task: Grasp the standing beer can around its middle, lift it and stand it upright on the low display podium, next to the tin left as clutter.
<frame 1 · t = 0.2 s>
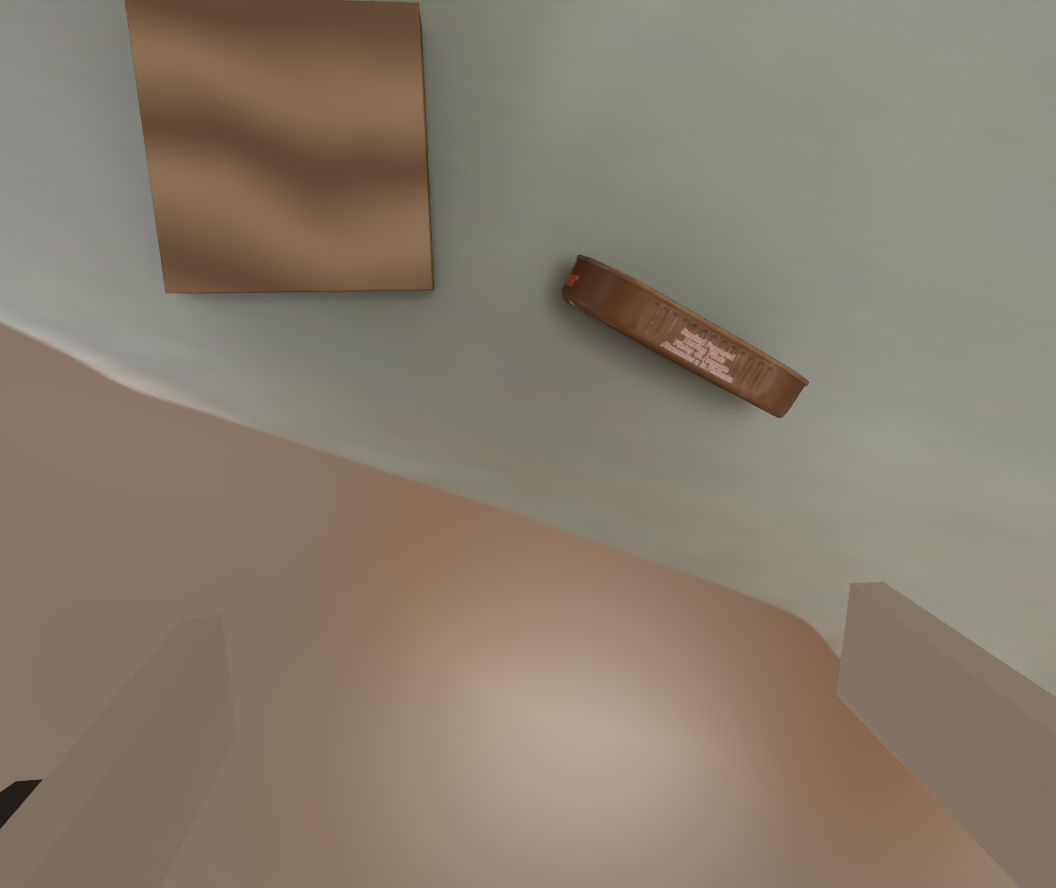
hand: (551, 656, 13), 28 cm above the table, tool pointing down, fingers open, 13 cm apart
podium: (302, 163, 36), on the table
tin: (658, 335, 41), on the table
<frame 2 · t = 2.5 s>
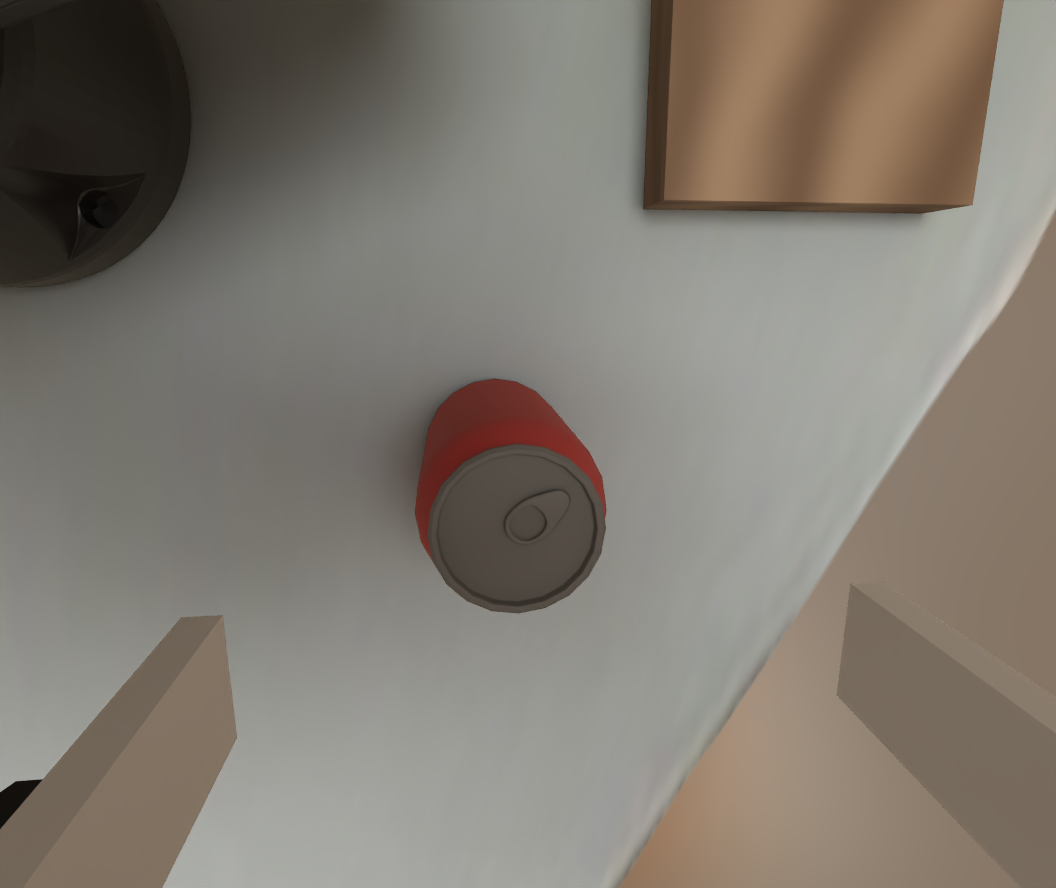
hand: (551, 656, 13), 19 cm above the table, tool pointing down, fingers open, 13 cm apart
podium: (801, 46, 29), on the table
beer can: (494, 442, 32), on the table
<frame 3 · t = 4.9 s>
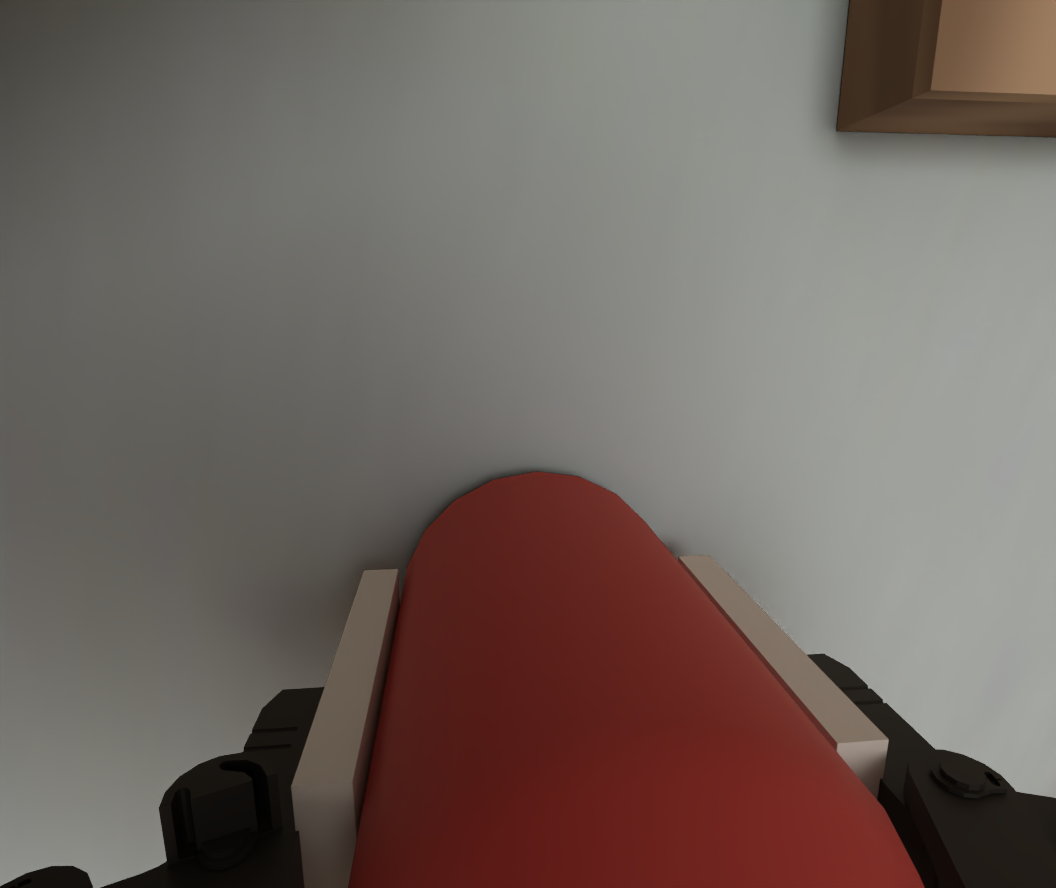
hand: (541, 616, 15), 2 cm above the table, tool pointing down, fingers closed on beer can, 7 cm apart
beer can: (533, 584, 17), on the table, touching gripper
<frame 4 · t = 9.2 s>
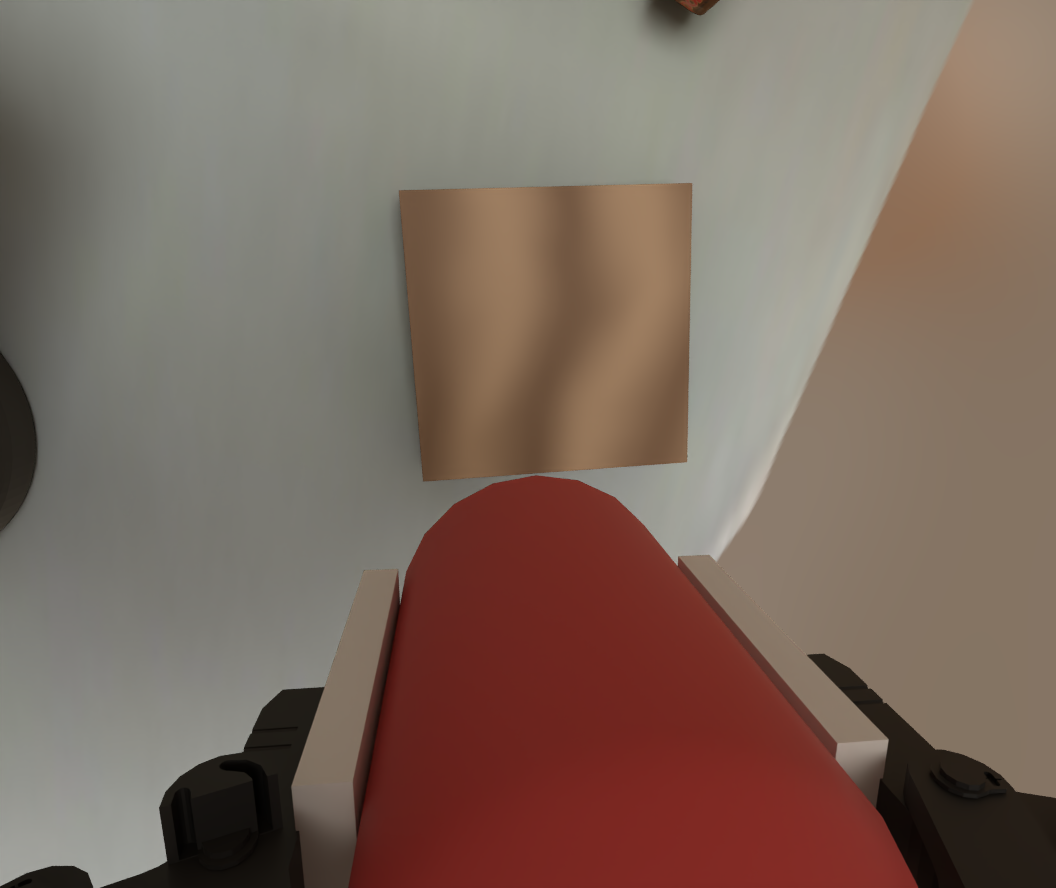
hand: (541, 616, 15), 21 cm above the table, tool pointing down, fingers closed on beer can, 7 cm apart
podium: (545, 332, 35), on the table
beer can: (532, 588, 17), point 20 cm above the table, touching gripper
when the fingers open (6 cm above the table, at t = 13.4 s): beer can drops 1 cm, resting on podium.
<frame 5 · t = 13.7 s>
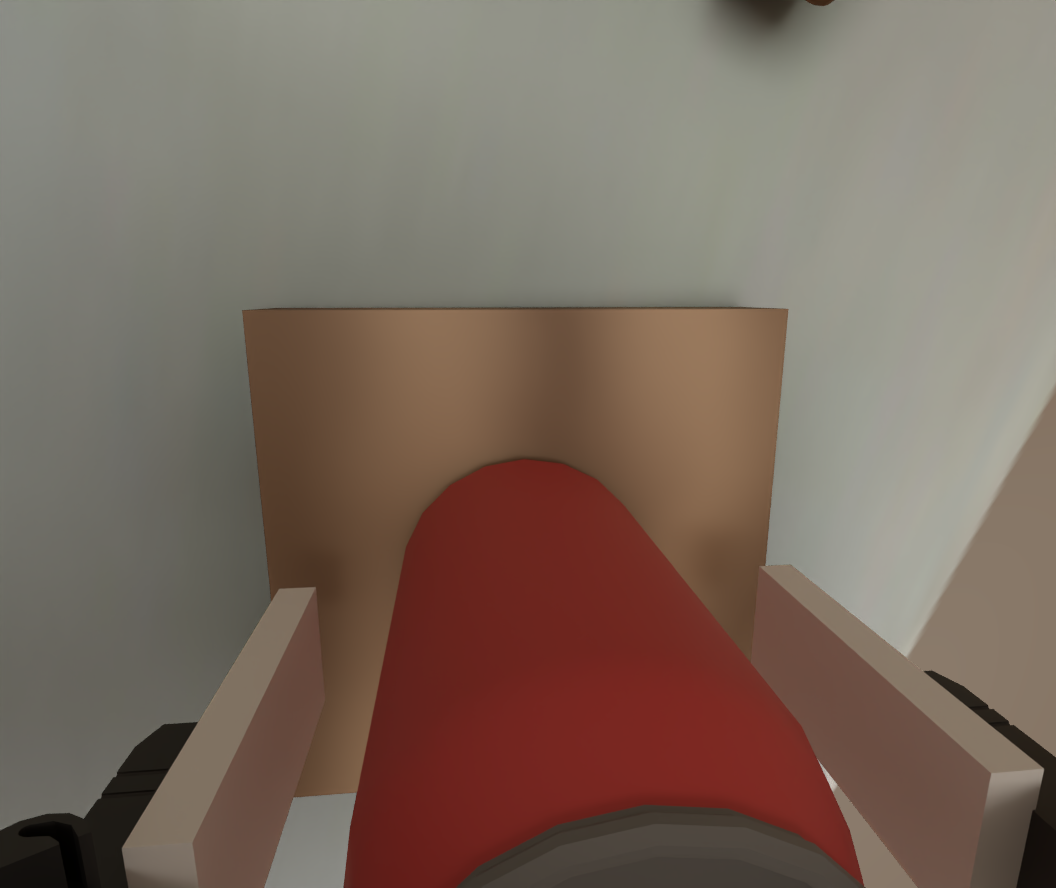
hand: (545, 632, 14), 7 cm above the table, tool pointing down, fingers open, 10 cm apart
podium: (517, 527, 21), on the table
beer can: (522, 564, 18), point 3 cm above the table, touching podium
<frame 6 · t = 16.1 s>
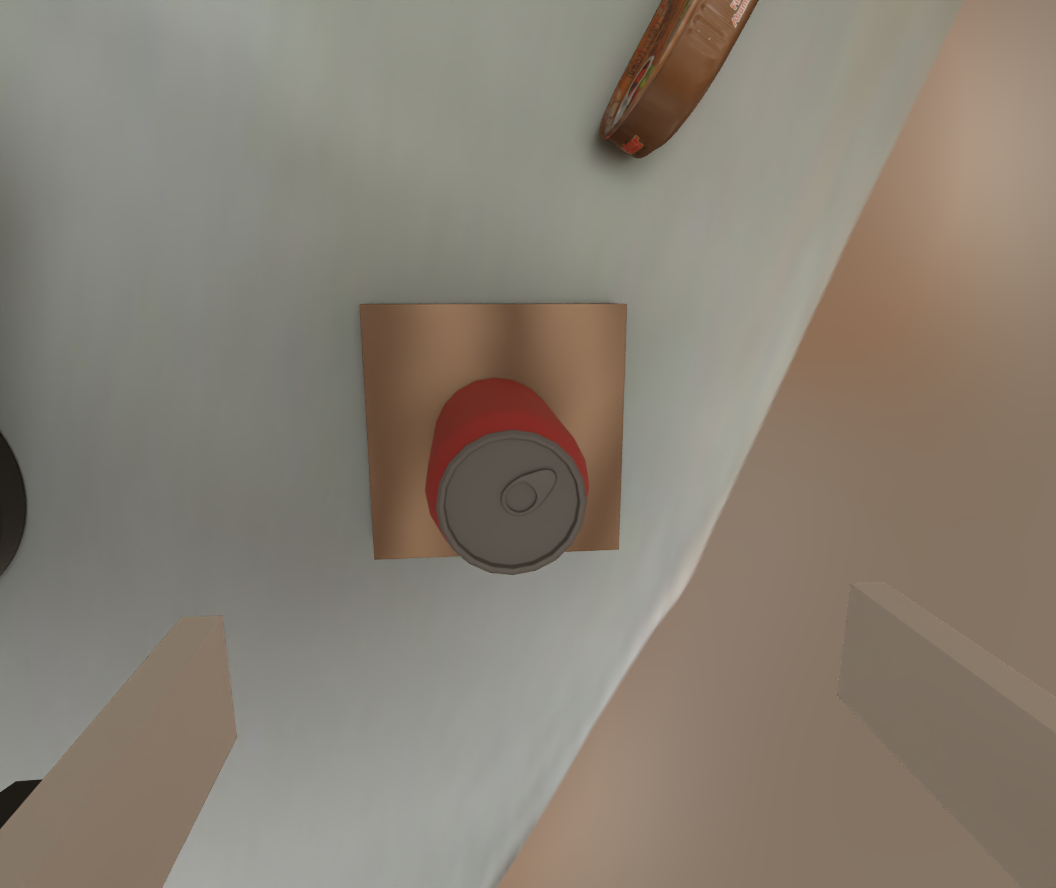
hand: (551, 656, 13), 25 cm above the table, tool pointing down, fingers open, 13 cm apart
podium: (494, 424, 38), on the table
tin: (674, 37, 34), on the table
beer can: (494, 435, 35), point 3 cm above the table, touching podium
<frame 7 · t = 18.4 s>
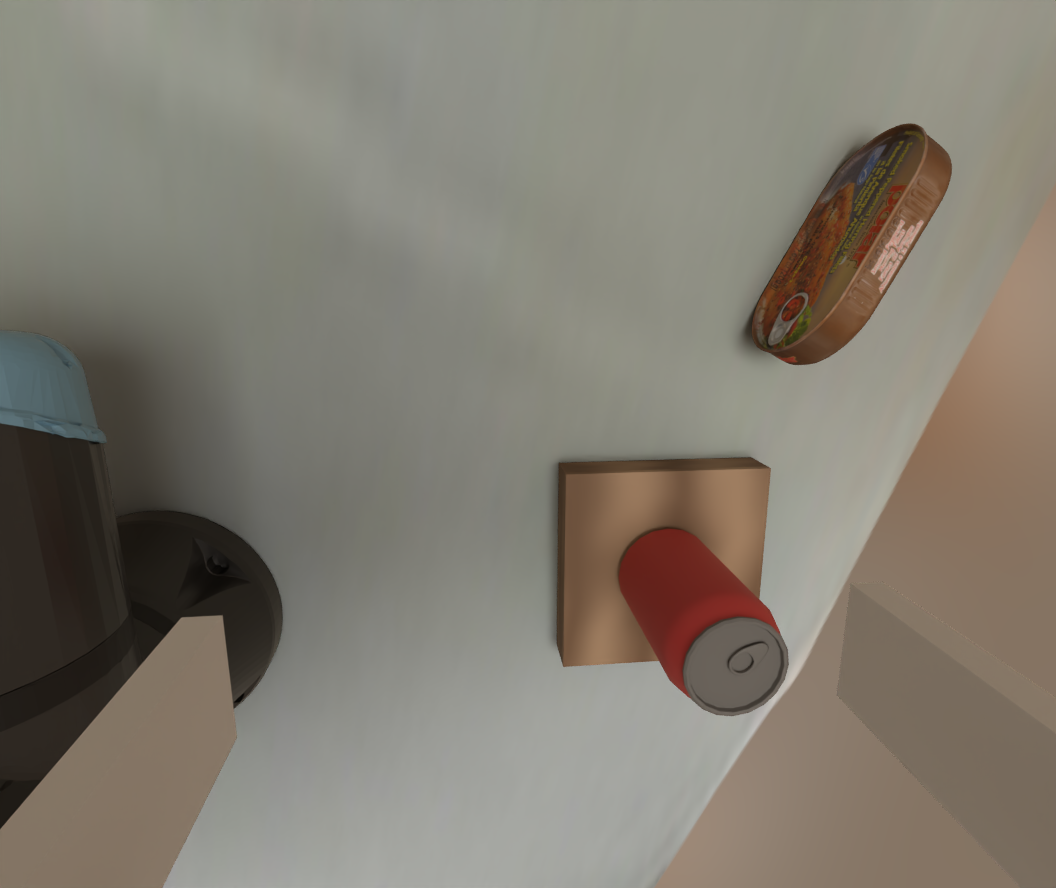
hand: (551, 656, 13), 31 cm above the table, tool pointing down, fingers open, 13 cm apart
podium: (652, 552, 47), on the table
tin: (807, 255, 43), on the table
beer can: (662, 569, 44), point 3 cm above the table, touching podium
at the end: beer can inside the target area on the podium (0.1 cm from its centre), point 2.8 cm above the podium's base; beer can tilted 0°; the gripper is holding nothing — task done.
